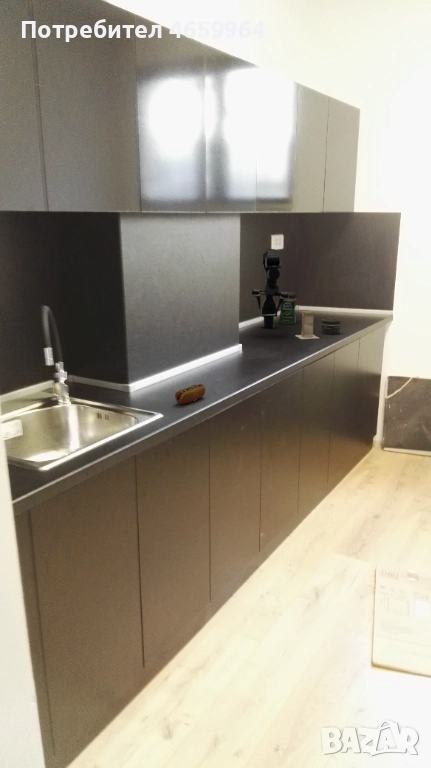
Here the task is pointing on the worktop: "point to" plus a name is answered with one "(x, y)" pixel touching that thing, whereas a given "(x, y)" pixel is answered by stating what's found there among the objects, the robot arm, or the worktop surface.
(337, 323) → the jar
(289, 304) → the coffee jar
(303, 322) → the oak block
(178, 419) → the worktop surface
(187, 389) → the hot dog
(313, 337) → the card
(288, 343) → the worktop surface
